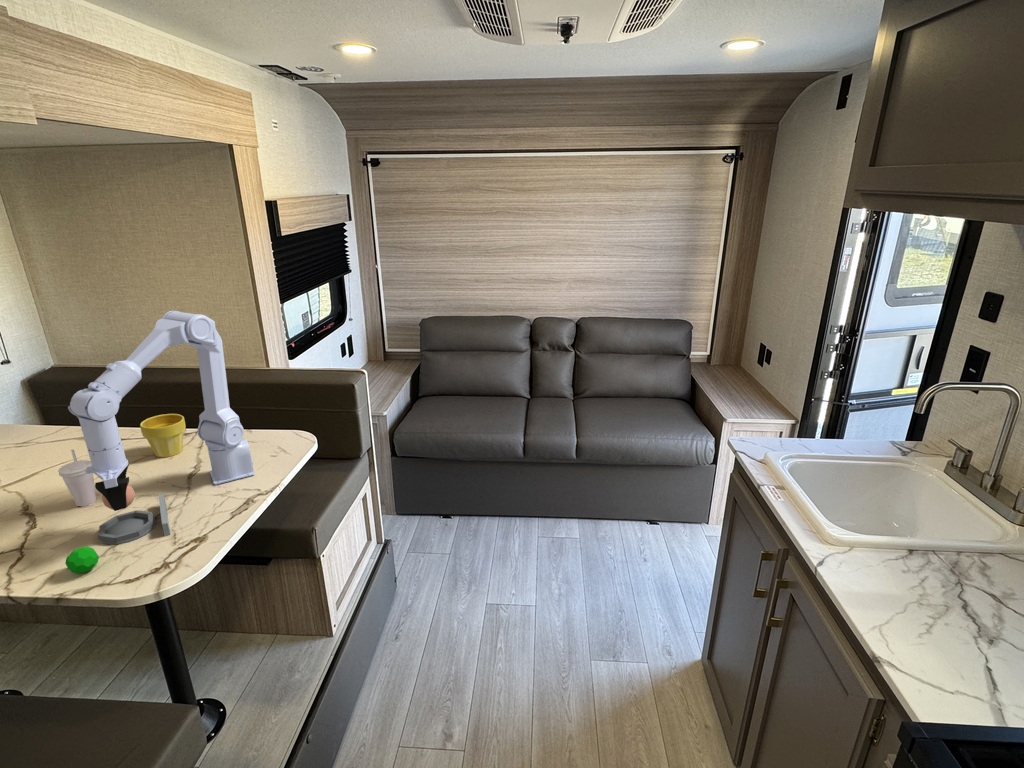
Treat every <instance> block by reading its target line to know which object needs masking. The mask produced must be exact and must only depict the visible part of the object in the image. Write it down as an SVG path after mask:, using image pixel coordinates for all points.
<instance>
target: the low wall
mask: <svg viewBox="0 0 1024 768" xmlns="http://www.w3.org/2000/svg"><path fill="white" fill-rule="evenodd" d="M158 501H159V509H160V510H159V511H160V519H161V520H160V521H161V525H162V531H163V533H164V536H165V537H166V536H170V535H171V531H170V530H171V529H170V523H169V522H170V521H169V515H168V507H167V502H166V499H165V493H159V494H158Z"/></svg>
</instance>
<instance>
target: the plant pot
mask: <svg viewBox="0 0 1024 768" xmlns="http://www.w3.org/2000/svg"><path fill="white" fill-rule="evenodd" d="M139 428H140V431H141V434H142V437H143V438H145V439H146V440H147V442H148V444H149V446H150V448H151V450H152V451H153V453H154V456H155V457H158V458H168V457H170V458H171V457H173V456H176V455H178V454H180V453H181V452H182V451H183V449H184V448H183V447H184V446H183V445H184V432H185V430H186V421H185V417H184V416H183V415H181V414H178V413H167V414H165V413H164V414H159V415H154V416H152V417H147V418H146V419H145V420H143V421H141V422H140V424H139Z"/></svg>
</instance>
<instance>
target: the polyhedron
mask: <svg viewBox="0 0 1024 768" xmlns="http://www.w3.org/2000/svg"><path fill="white" fill-rule="evenodd" d="M99 559H100V556H99V555H98V553H97V551H96V550H95V549H94V548H93V547H90V546H81V547H77V548H75V549H74V550H73V551H72V552H70V553H69V554H68V556H66V559H65V563H64V564H65V565H66V566H65V567H67V568H68V570H69V571H70V573H72V574H76V575H79V574H84V573H88V572H90V571H91V570H92V569H94V568H95V567H96V566H97V564H98V563H99Z"/></svg>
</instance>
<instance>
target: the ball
mask: <svg viewBox="0 0 1024 768" xmlns="http://www.w3.org/2000/svg"><path fill="white" fill-rule="evenodd" d="M135 497H136V492H135V490H134V488H133V487H132V486H131V485H129V484H128V486H127V489H126V500H127V505H126V508H128V507H129V506H131V504H133V502H134V500H135ZM101 500H102V503H103V504H104V506H105V507H106V508H108V509H110V510H113V509H112V507H111V505H110V504H109V502H108V501H107V499H106V498H105V497H104V496H103V495H102V499H101Z"/></svg>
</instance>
